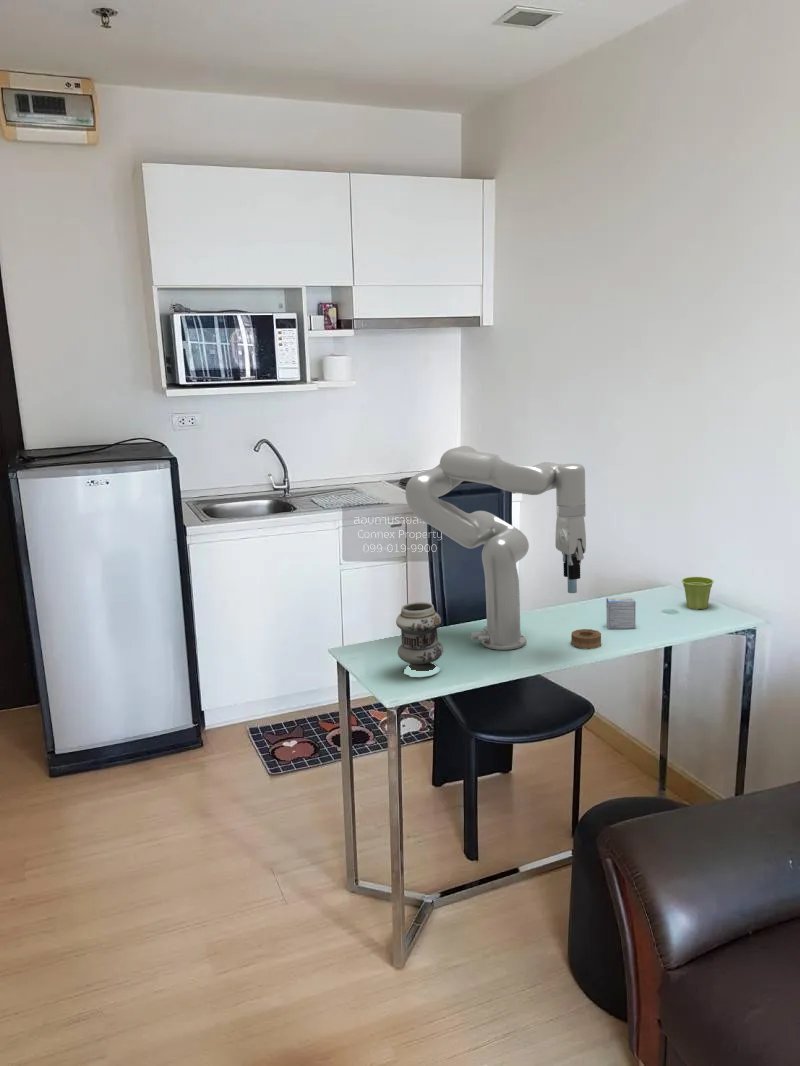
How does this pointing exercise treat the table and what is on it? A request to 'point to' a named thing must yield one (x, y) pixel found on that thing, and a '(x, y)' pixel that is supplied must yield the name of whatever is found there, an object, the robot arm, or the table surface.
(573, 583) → the blue grey cylinder
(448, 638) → the table surface
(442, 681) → the table surface
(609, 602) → the medicine box
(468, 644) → the table surface
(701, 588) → the plant pot
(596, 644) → the bead
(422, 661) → the apothecary jar
